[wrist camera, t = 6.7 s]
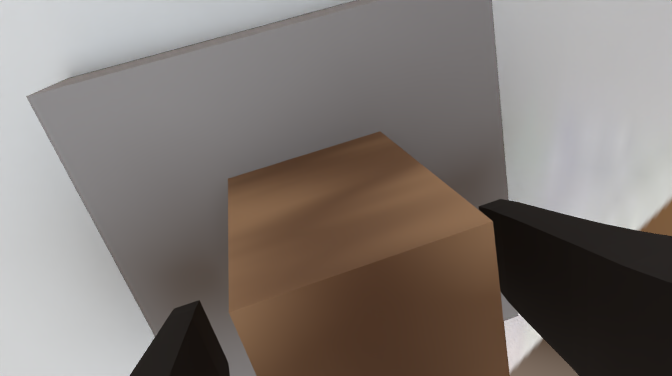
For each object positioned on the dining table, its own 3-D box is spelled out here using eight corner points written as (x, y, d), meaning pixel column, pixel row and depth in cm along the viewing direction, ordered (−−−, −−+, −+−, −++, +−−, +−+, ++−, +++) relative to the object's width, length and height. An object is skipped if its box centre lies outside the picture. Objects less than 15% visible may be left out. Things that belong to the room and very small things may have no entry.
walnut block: (380, 131, 13) (492, 221, 7) (407, 258, 15) (512, 405, 9) (227, 178, 12) (228, 312, 7) (275, 304, 14) (305, 488, 9)
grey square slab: (440, -23, 15) (488, -30, 12) (477, 273, 19) (517, 315, 17) (67, 78, 13) (26, 96, 10) (208, 367, 18) (205, 431, 15)
